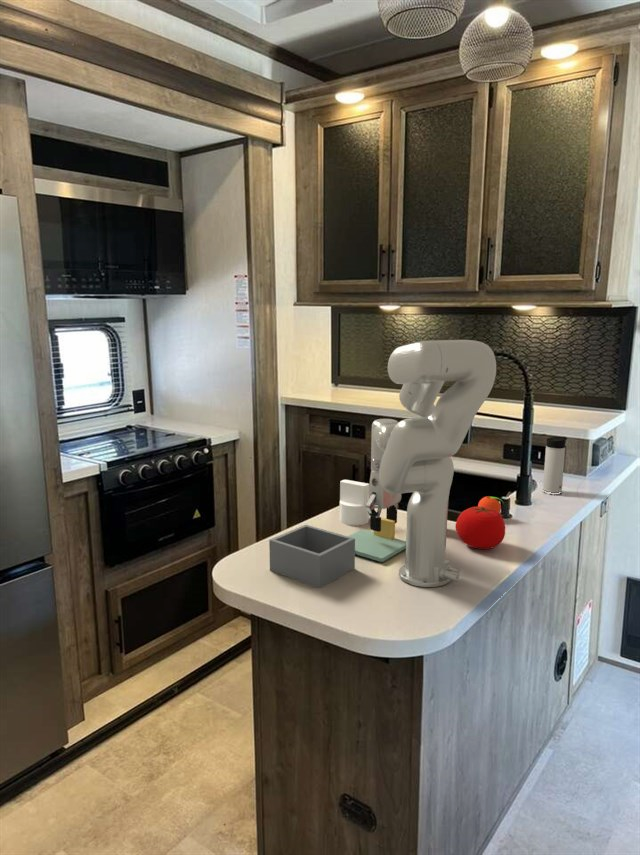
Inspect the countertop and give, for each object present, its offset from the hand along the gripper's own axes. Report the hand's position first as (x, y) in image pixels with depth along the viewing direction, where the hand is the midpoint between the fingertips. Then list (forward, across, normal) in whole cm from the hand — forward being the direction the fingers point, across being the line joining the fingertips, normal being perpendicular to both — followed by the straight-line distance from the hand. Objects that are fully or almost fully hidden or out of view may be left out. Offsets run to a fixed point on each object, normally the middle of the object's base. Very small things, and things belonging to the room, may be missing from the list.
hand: (383, 525), depth 172 cm
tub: (+5, -26, +4) cm, 27 cm away
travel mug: (+5, +77, -21) cm, 80 cm away
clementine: (+5, +38, -15) cm, 41 cm away
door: (+5, -6, 0) cm, 8 cm away
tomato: (+5, +15, -22) cm, 27 cm away
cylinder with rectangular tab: (+5, +10, +17) cm, 20 cm away
